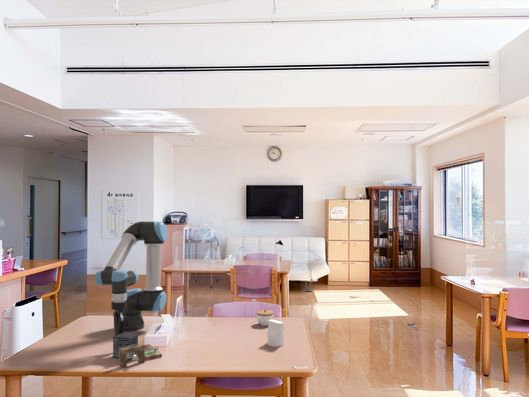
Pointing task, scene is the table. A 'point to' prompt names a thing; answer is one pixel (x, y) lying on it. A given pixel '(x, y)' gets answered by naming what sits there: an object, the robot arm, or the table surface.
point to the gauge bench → (141, 354)
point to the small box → (123, 342)
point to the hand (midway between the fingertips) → (118, 347)
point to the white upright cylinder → (275, 333)
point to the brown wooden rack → (134, 354)
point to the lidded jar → (264, 316)
